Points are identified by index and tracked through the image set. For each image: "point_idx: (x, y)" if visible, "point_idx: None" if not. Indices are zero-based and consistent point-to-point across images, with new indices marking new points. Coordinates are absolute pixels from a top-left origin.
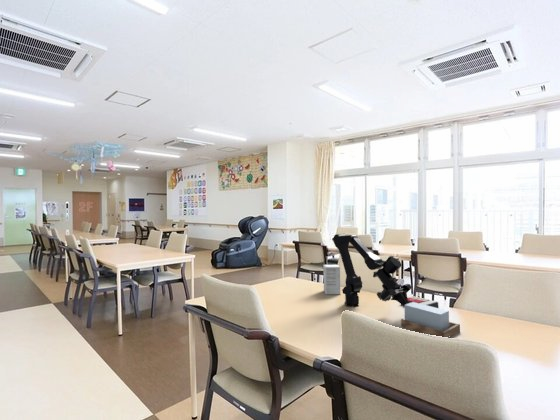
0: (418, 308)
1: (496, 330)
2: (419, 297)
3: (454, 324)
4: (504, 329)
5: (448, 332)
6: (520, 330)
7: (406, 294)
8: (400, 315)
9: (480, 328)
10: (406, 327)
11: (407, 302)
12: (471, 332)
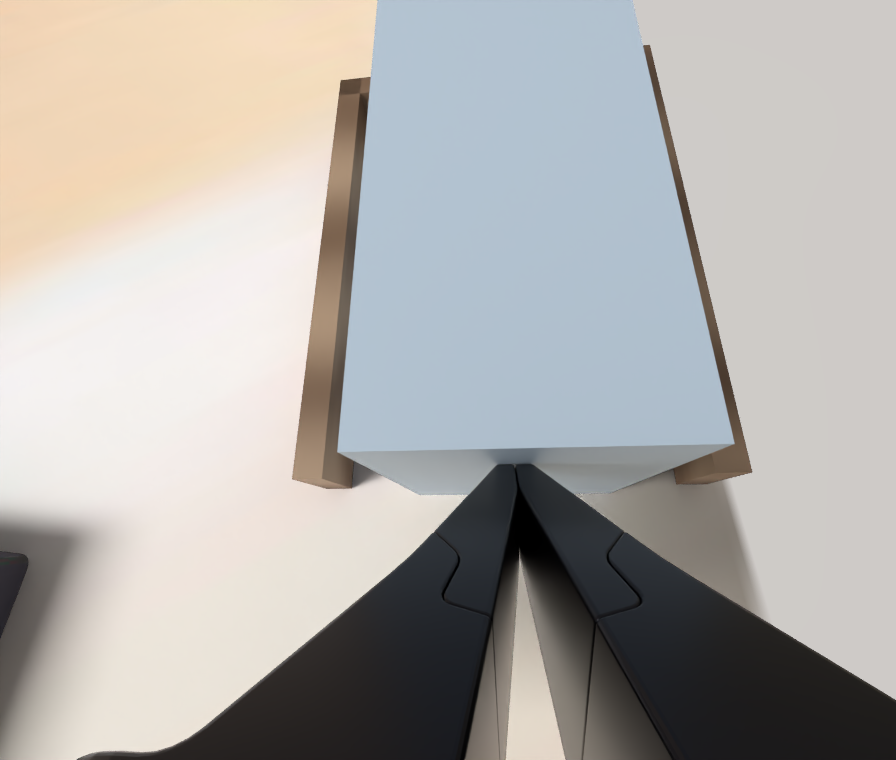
0: (663, 154)
1: (166, 54)
2: None
3: (361, 108)
4: (118, 44)
5: None
6: (84, 8)
7: (348, 629)
8: None
9: (192, 106)
10: None
11: (506, 499)
12: (313, 99)
